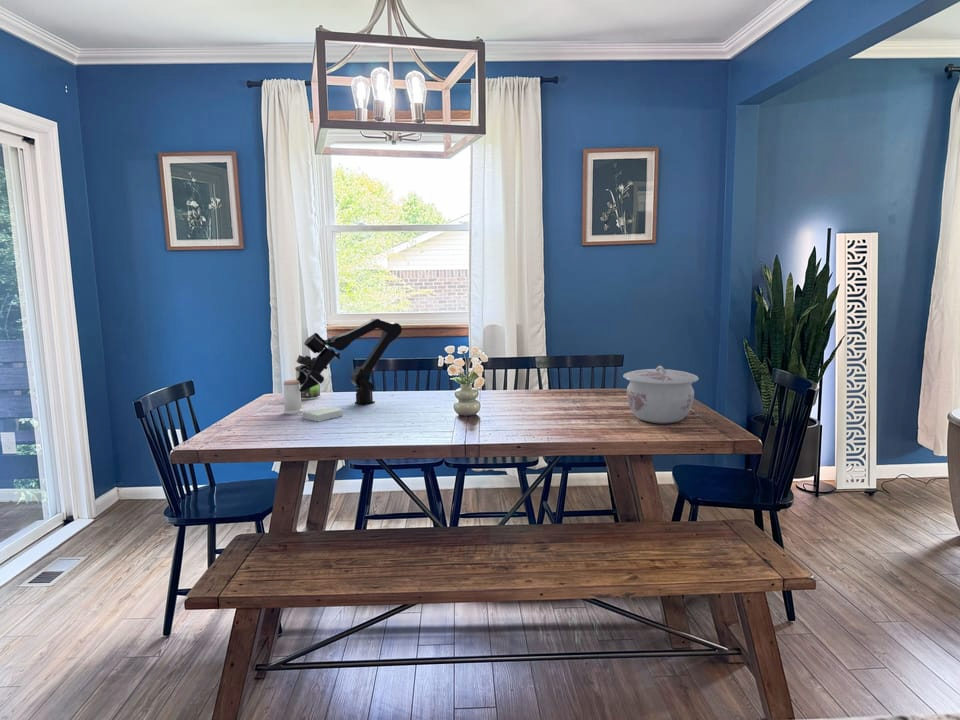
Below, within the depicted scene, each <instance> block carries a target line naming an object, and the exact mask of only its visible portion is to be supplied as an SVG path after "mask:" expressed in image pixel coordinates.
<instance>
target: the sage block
mask: <svg viewBox="0 0 960 720" xmlns="http://www.w3.org/2000/svg"><path fill="white" fill-rule="evenodd" d="M301 415H302V419H305V418H306V419H305V420H309V419H310V421H313V420H314V421H313V422H316V421H319V422H322V421H321V420H323V421H327V420H331V419H330V418H332V419H335V417H336V418H339V416H340V417H343V416H344V409H341V408H338V407H337V408H336V407H333V406H327V405H326V406H323V407H317V408H314V409H309V410H303V412H302V413H301ZM326 419H327V420H326Z"/></svg>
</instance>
